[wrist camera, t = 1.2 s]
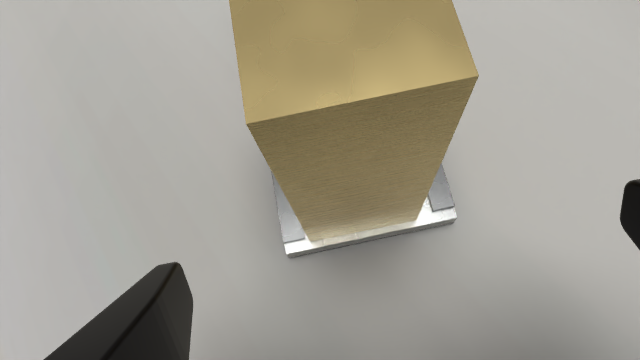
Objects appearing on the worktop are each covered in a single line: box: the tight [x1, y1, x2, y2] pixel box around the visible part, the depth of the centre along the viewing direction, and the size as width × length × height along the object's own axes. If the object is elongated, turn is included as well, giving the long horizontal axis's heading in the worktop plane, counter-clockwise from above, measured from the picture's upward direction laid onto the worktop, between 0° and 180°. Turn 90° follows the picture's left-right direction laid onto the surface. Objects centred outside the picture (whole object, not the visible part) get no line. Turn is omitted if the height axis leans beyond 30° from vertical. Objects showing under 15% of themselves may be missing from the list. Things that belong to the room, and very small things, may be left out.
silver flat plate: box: [271, 163, 457, 258], centre depth 24 cm, size 15×8×1 cm, turn 11°
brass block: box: [229, 0, 479, 242], centre depth 16 cm, size 6×5×12 cm
